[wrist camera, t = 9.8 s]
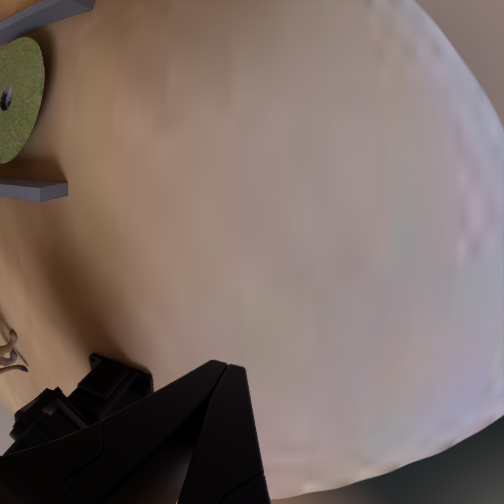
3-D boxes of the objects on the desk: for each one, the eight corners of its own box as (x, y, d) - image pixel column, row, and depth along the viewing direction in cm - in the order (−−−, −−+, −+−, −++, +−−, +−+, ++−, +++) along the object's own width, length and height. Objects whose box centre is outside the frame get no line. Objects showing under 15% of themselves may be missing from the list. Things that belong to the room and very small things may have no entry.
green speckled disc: (77, 40, 17) (61, 35, 15) (41, 175, 21) (24, 178, 19) (9, 41, 18) (-5, 39, 16) (-17, 148, 22) (-31, 150, 20)
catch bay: (67, 195, 21) (39, 202, 18) (-24, 185, 23) (-44, 190, 21) (94, -1, 16) (71, -13, 13) (-8, 42, 18) (-28, 40, 15)
